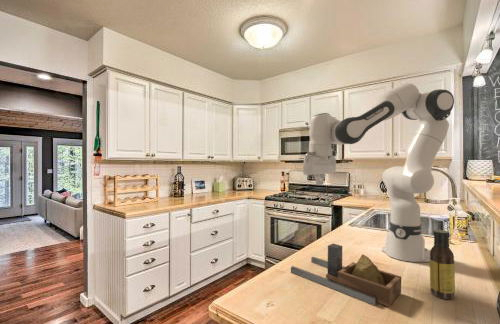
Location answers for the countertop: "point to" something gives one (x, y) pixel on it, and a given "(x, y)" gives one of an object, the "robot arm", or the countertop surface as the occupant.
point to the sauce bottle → (442, 266)
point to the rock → (368, 271)
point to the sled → (344, 277)
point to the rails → (332, 284)
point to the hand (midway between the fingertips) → (319, 185)
